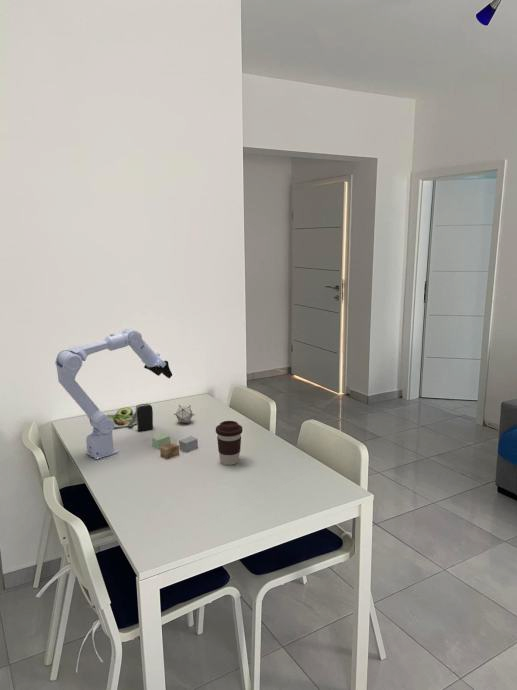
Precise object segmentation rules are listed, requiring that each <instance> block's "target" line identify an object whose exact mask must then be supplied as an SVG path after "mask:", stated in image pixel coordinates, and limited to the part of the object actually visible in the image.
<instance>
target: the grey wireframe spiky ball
mask: <svg viewBox="0 0 517 690" xmlns="http://www.w3.org/2000/svg"><path fill="white" fill-rule="evenodd" d="M173 415H174V416H175V417H176V419H177V421H178V422H177V424H180V423H183V424H184V423H187V424H189V425H190V421H191V420H192V418H193V416H195V414H194V413H193V411H192V409H191V405H189V406H181V405H180V404H179V405H178V409H177V410H176V413H174V414H173Z"/></svg>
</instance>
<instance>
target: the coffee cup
mask: <svg viewBox="0 0 517 690" xmlns="http://www.w3.org/2000/svg"><path fill="white" fill-rule="evenodd" d="M242 433H243V426H242V425H241V424H239V423H238V421H235V420H225V421H221V422H220V423H219V424H218V425H216V427H215V434H217V438H216V439H217V451H218V454H219V461H220V463H221V464H223V465H227V466H232V465H236V464H238V462H239V461H240V452H241V448H242V447H241V445H242V435H241V434H242Z"/></svg>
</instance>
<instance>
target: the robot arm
mask: <svg viewBox="0 0 517 690" xmlns="http://www.w3.org/2000/svg"><path fill="white" fill-rule="evenodd" d="M128 346H129V347H130V348H131V349H132V351H133V352H134V354H135V355H137V356H138V358H140V360H141V362H142V363H143V364H144V366H143V368H144V369H146V370H148V371H150V372H151V373H153V374H155V375H156V376H158V377H159V376H161V374H162V375H163V376H165V377H166V378H167V379H171V378H172V376H173V373H172V371H171V368H170V365H169V361H168V360H166V359H165V360H162V358H161V357H160V356H161V354H160V353H158V352H157V353H156V352H155V351H154V350H153V348H151V346H149V344H148V343H147V342H146V341H145V340H144V339H143V336H142V333H141V332H138V331H136V330H134V329H130V328H129V329H128V328H127V329H123V330H122V331H121V332H118V333H113V332H112V333H109V335H106V337H105V338H104V339H103V340H100V341H96V342H92V343H91V342H90V343H86V344H83V345H77V346H72V347H69V348H68V349H63V350H61V351H60V352H59V353H58V354H57V356H56V357H55V358H56V360H55V362H54V364H55V366H56V373H57V379H58V383H59V384H60V385H61V386H62V388H63V389H64V390H65V392H67V393H68V395H70V397H71V398H72V399H73V400H74V401H75V403H76V404H77V405H78V407H80V408H81V410H82V411H83V412H84V413H85V414H86V417H87V418H88V420H89V423H90V426H91V427H92V433H90V434H89V435H87V436H86V441H85V442H86V451H87V452H86V455H88V456H89V455H90V456H89V457H91V458H92V457H94V458H96V459H97V458H98V457H99V458H100V459H102V458H101V457H103V458H106V457H109V456H112V455H115V454H118V453H119V451H118V450H116V449H114V438H113V430H114V426H115V424H114V421H113V420H112V419H111V418H109V417H107V416H106V415H107V414H105V413H104V412H103V411H102V410H101V409H100V408H99V407H98V406H97V404H96V403H94V401H93V400H92V399H91V397H90V396H89V395H88V393H86V391H85V390H84V389H83V388H82V387H81V386H80V384H79V383H78V382H77V380H76V377H77V375H78V374H79V371H80V369H81V368H82V366H83V362H86V360H87V358H88V356H90V355H92V354H95V353H98V352H101V351H104V350H108V351H112V352H113V351H115V350H119V349H123V348H126V347H128ZM105 456H106V457H105ZM94 458H93V459H94ZM96 459H95V460H96ZM97 460H98V459H97Z"/></svg>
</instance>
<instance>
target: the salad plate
mask: <svg viewBox="0 0 517 690" xmlns="http://www.w3.org/2000/svg"><path fill="white" fill-rule="evenodd" d="M105 415H106V416H107V417H109V418H111V419H112V420H113V421H114V429H123V428H130V427H132V426H133V427H134V425H137V417H136V411H135V412H134V411H133V409H132V408H131V407H127V406H126V407H122V408H120V409H117V412H115V413H111V414H105ZM115 424H116V425H115ZM114 429H113V430H114Z"/></svg>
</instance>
